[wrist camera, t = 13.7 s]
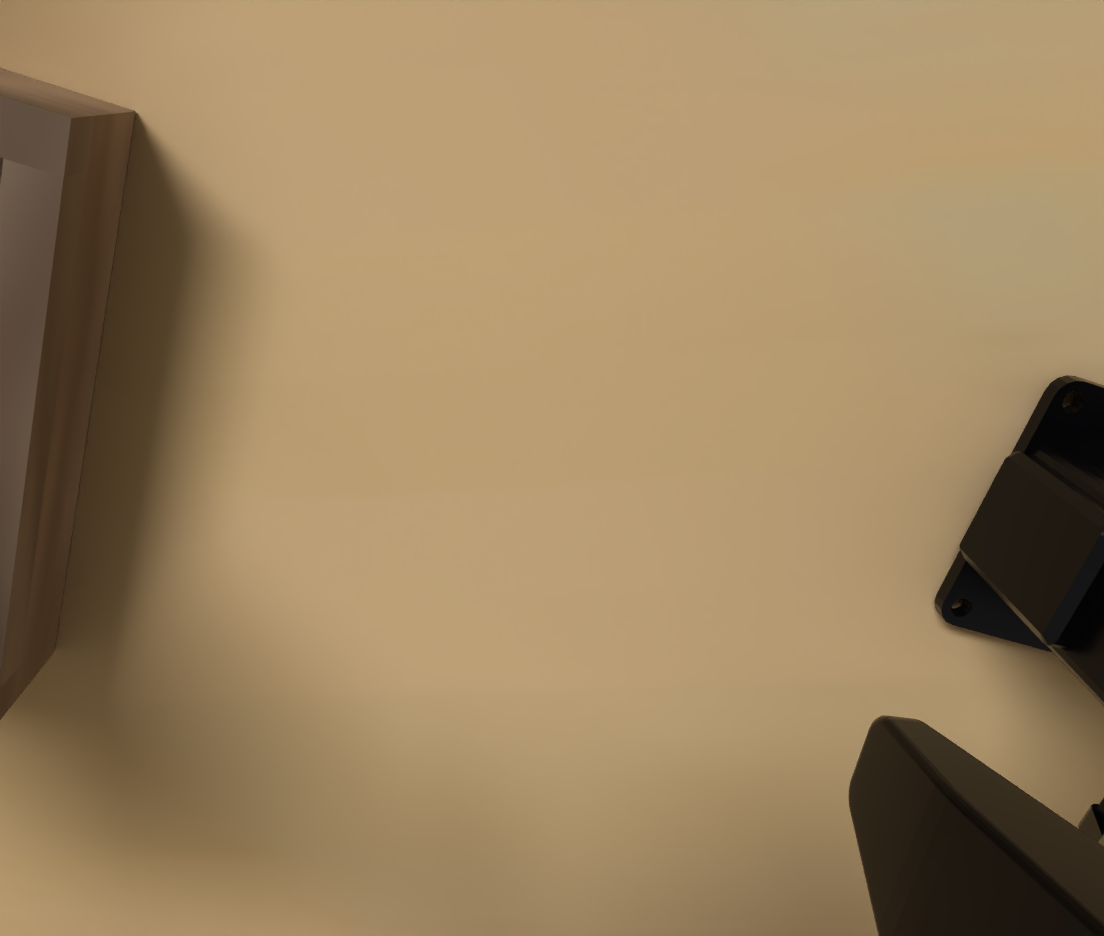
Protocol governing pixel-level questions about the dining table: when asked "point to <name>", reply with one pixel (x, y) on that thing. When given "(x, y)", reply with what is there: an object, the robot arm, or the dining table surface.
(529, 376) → the dining table surface
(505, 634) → the dining table surface
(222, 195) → the dining table surface
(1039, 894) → the robot arm
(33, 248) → the tray
